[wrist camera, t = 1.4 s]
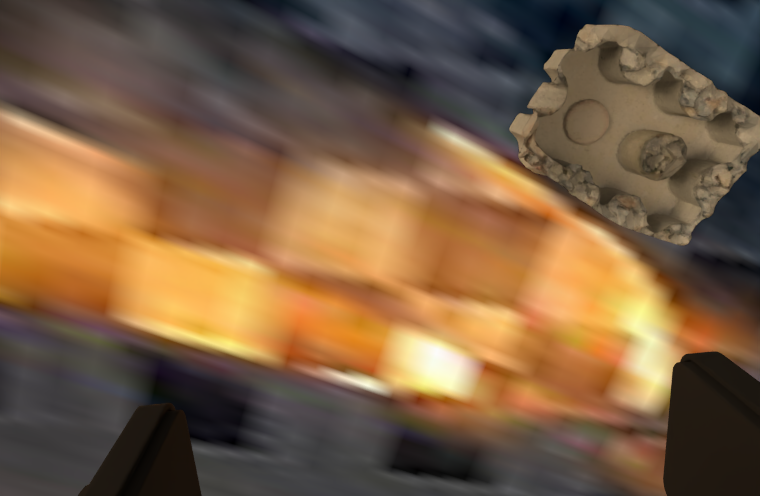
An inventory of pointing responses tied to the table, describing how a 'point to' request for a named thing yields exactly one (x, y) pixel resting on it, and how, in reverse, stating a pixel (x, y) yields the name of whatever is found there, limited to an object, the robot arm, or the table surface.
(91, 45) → the table surface
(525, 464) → the table surface
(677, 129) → the tan cratered rock
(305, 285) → the table surface
